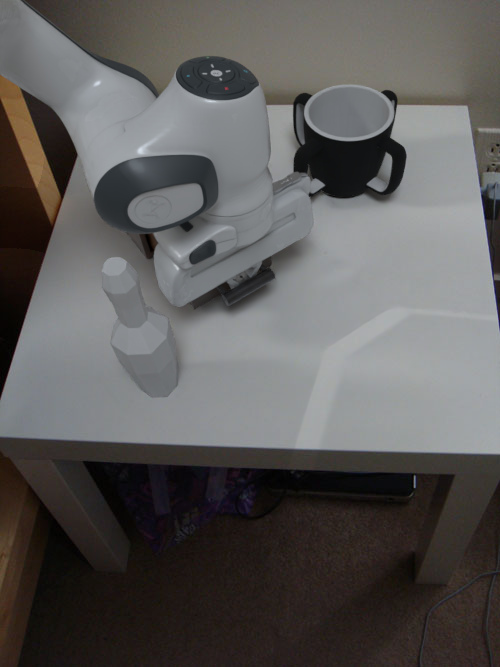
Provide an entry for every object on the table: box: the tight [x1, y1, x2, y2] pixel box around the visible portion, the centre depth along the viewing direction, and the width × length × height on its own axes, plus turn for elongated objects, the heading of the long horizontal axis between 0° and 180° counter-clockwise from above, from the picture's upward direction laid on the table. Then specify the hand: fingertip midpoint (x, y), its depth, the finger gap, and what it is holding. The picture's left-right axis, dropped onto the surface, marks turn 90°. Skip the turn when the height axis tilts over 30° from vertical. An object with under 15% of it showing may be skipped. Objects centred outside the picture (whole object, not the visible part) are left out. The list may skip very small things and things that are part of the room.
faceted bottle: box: [101, 256, 179, 398], centre depth 64 cm, size 6×6×22 cm
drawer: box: [145, 233, 276, 310], centre depth 79 cm, size 19×12×7 cm, turn 34°
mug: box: [292, 83, 408, 198], centre depth 86 cm, size 16×16×12 cm
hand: (242, 285), depth 76 cm, fingers closed
